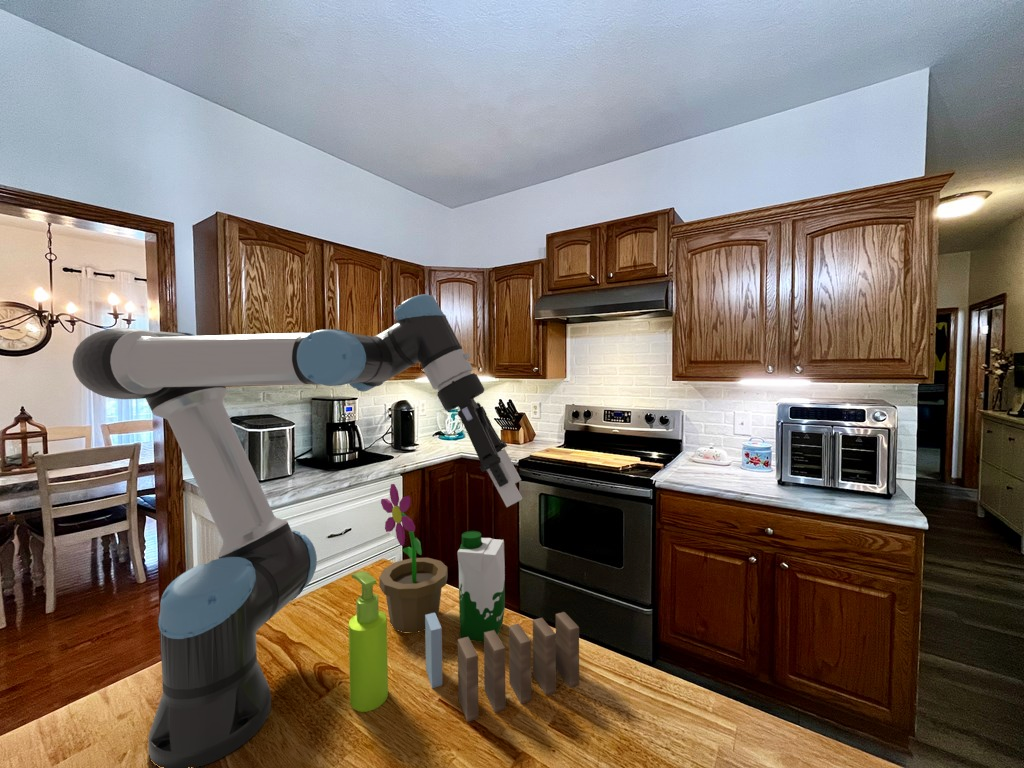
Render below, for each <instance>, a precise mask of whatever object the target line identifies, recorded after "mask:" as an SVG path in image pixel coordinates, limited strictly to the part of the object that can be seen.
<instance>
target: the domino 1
mask: <svg viewBox="0 0 1024 768" xmlns="http://www.w3.org/2000/svg"><path fill="white" fill-rule="evenodd" d="M442 631H443V629H442V626H441V623H440V621H439V617H438V618H437V616H436V613H431V614H427V615H425V630H424V633H425V671H426V673H427V677H428V680H429V684H430V687H431V689H434V688H438V687H441V686H443V641H442V639H443V637H442V636H443V633H442Z"/></svg>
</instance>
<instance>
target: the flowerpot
mask: <svg viewBox="0 0 1024 768" xmlns="http://www.w3.org/2000/svg"><path fill="white" fill-rule="evenodd" d="M389 495H390V499H388V498H381V499H380V500H381V501H380V504H381V507H382V509H383V510H384V511H385V512H386V513H387V514H388V513H389V514H390V513H391V515H392V516H390V517H388V518H387V519H386V521H384V523H385V524H384V530H385V532H386V533H389V532H392V531H393V530H394V529H395V535H396V541H398V543H399V545H400V546H405V541H406V533H405V530H406V531H407V532H408V534H409V539H410V544H411V547H410V546H408V547H404V548H402V552H403V553H404V554H406V555H407V556H408V557H409V558H407V559H403V560H399V561H395V562H394V563H392V564H390V565H388V566H387V567H384V568H383V569H382V571H381V573H380V575H379V577H378V580H379V589H380V590H381V591H382V593H383V594H384V596H385V598H386V604H387V610H388V618H389V623H391V624H392V625H391V624H390V625H391V627H392V626H393V627H392V628H394V629H396V630H395V631H397V630H399V631H398V632H400V631H402V632H417V633H419V632H418V631H420V632H423V631H425V630H424V629H425V615H427V614H431V613H436V616H437V618H438V619H439V614H440V606H441V597H442V596H441V595H442V589H443V587H445V586H447V581H448V566H447V565H445V563H444V562H443V561H441V560H440V559H439V560H438V559H434V558H430V557H417V554H418V555H420V556H422V555H423V553H422V546H421V541H420V540H419V539H418V537H415V531H416V525H415V523H414V521H413V519H412V518H410V517H409V516H408V515H406V514H405V512H407V511H408V509H410V507H411V501H412V500H411V497H410V495H406V496H403V497H402V498H401V500H400V497H399V491H398V488H397V487H396V485H395V483H391V484H390V487H389ZM394 629H393V630H394ZM422 630H423V631H422ZM402 632H401V633H402Z"/></svg>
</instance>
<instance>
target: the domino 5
mask: <svg viewBox="0 0 1024 768" xmlns="http://www.w3.org/2000/svg"><path fill="white" fill-rule="evenodd" d="M556 672H557V670H556V631H554V630H553V629H552V628H551V626H550V625H549V624H548V623H547V621H546V620H545V619H544V618H543V617H539V618H536V619H535V618H534V619H532V676H533V677H534V679H535V681H536V682H537V684H538V685H539V687H540V688H541V690H542V692H543V693H544V695H545V696H550V695H553V694H555V693H557V688H556V687H557V679H556V678H557V675H556V674H557V673H556Z"/></svg>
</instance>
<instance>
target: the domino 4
mask: <svg viewBox="0 0 1024 768" xmlns="http://www.w3.org/2000/svg"><path fill="white" fill-rule="evenodd" d="M508 667H509V668H508V669H509V671H508V673H509V675H508V676H509V679H508V680H509V681H508V682H509V686H510V687H511V688H512V691H513V692H514V694H515V696H516V697H517V699H518V701H519V703H520V704H521V705H522V704H525V703H528V702H531V701H532V640H531V639H530V637H529V636H528V634H527V633H526V631H525V630H524V629H523V628H522V626H521V625H520V624H519V623H516V624H515V623H514V624H513V625H509V626H508Z"/></svg>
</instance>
